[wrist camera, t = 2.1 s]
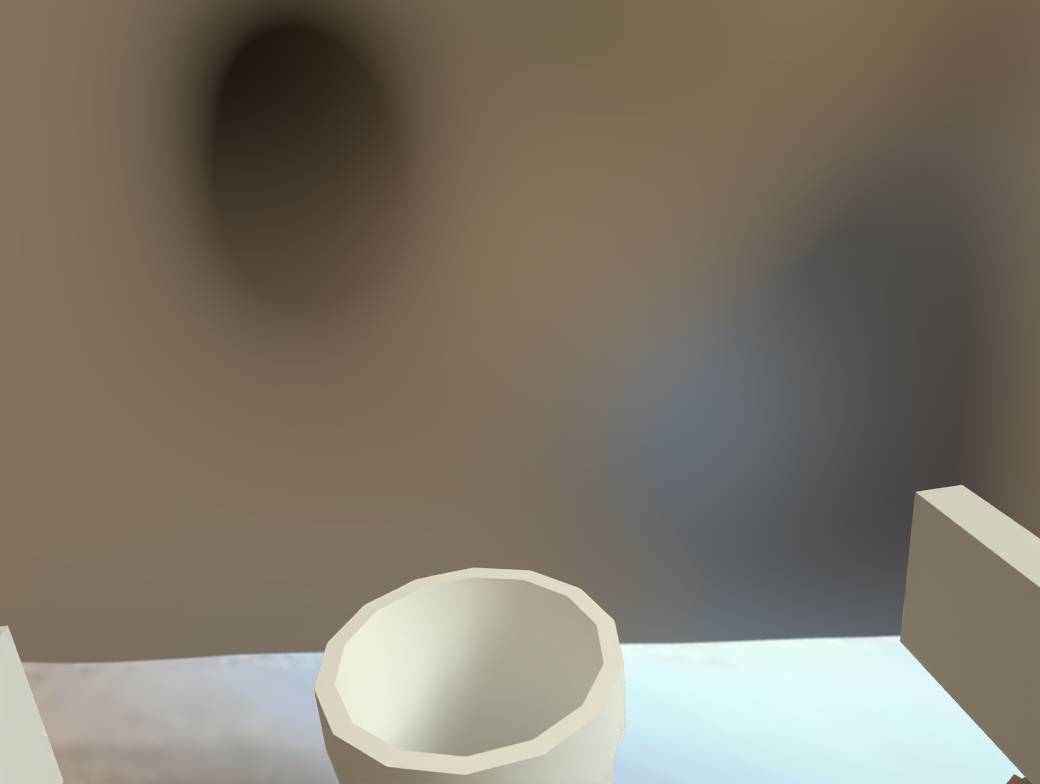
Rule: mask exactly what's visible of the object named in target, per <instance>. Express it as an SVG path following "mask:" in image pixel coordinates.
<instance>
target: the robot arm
mask: <svg viewBox="0 0 1040 784" xmlns="http://www.w3.org/2000/svg"><path fill="white" fill-rule="evenodd" d="M900 642H901V643H902V644H903V645H904V646H905V647H906V648H907V649H908V650H909V651H910V652H911V653H912V655H913V656H914V657H915V658H916V659H917V660H918V661H919V662H920V663H921V664H922V665H923V666H924V668H925V669H926V670H927V671H928V672H929V673H930V674H931V675H932V676H933V677H934V678H935V679H936V681H937V682H938V683H939V684H940V685H941V686H942V687H943V688H944V689H945V690H946V691H947V692H948V694H949V695H950V696H951V697H952V698H953V699H954V700H955V701H956V702H957V703H958V704H959V705H960V707H961V708H962V709H963V710H964V711H965V712H966V713H967V714H968V715H969V716H970V717H971V718H972V720H973V721H974V722H975V723H976V724H977V725H978V726H979V727H980V728H981V729H982V730H983V731H984V733H985V734H986V735H987V736H988V737H989V738H990V739H991V740H992V741H993V742H994V743H995V744H996V746H997V747H998V748H999V749H1000V750H1001V751H1002V752H1003V753H1004V754H1005V755H1006V756H1007V757H1008V759H1009V760H1010V761H1011V762H1012V763H1013V764H1014V765H1015V766H1016V767H1017V768H1018V769H1019V770H1020V772H1021V773H1022V774H1023V775H1024V776H1025V777H1026V778H1027V779H1028V780H1029V781H1030V782H1031V783H1032V784H1040V539H1039V538H1038V537H1036V536H1035V535H1033V534H1032V533H1031V532H1029V531H1028V530H1026V529H1025V528H1023V527H1022V526H1020V525H1019V524H1018V523H1016V522H1015V521H1013V520H1012V519H1010V518H1009V517H1008V516H1006V515H1005V514H1003V513H1002V512H1000V511H999V510H997V509H996V508H995V507H993V506H992V505H990V504H989V503H987V502H986V501H984V500H983V499H981V498H980V497H979V496H977V495H976V494H974V493H973V492H971V491H970V490H968V489H967V488H966V487H964V486H963V485H959V486H952V487H946V488H939V489H932V490H925V491H919V492H915V502H914V512H913V521H912V531H911V542H910V551H909V560H908V571H907V581H906V591H905V599H904V609H903V619H902V628H901V638H900ZM63 782H64V781H63V779H62V776H61V773H60V770H59V767H58V765H57V762H56V759H55V756H54V754H53V751H52V748H51V745H50V742H49V740H48V737H47V734H46V731H45V728H44V726H43V723H42V720H41V717H40V714H39V712H38V709H37V706H36V703H35V700H34V698H33V695H32V692H31V689H30V686H29V684H28V681H27V678H26V675H25V672H24V670H23V667H22V664H21V661H20V658H19V656H18V653H17V650H16V647H15V645H14V642H13V639H12V636H11V633H10V631H9V628H8V626H2V627H0V784H63Z"/></svg>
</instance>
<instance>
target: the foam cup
mask: <svg viewBox="0 0 1040 784" xmlns="http://www.w3.org/2000/svg"><path fill="white" fill-rule="evenodd" d="M314 691H315V696H316V701H317V706H318V711H319V716H320V721H321V726H322V731H323V736H324V741H325V746H326V750H327V753H328V755H329V758H330V760H331V763H332V765H333V768H334V770H335V773H336V775H337V778H338V780H339V783H340V784H612V779H613V772H614V764H615V757H616V749H617V746H618V744H619V741H620V739H621V737H622V734H623V732H624V730H625V727H626V711H625V679H624V662H623V658H622V653H621V648H620V644H619V639H618V635H617V630H616V626H615V621H614V620H613V619H612V618H611V617H610V616H609V615H607V613H606V612H604V611H603V610H602V609H601V608H600V607H599V606H598V605H597V604H596V603H595V602H594V601H593V600H592V599H591V598H590V597H589V596H588V595H586V593H584V592H583V591H582V590H581V589H580V588H577V587H574V586H572V585H569V584H566V583H563V582H561V581H557V580H555V579H552V578H550V577H547V576H544V575H541V574H539V573H535V572H533V571H527V570H508V569H487V568H470V569H465V570H460V571H455V572H450V573H446V574H441V575H436V576H431V577H426V578H421V579H416V580H414V581H412V582H410V583H408V584H406V585H404V586H402V587H400V588H398V589H396V590H394V591H392V592H390V593H388V594H386V595H384V596H382V597H380V598H378V599H376V600H374V601H372V602H370V603H368V604H366V605H364V606H363V607H362V608H361V609H360V610H359V611H358V612H357V613H356V614H355V615H354V616H353V617H352V618H351V619H350V620H349V621H348V622H347V623H346V624H345V626H343V627H342V629H341V630H340V631H339V632H338V633H337V634H336V635H335V636H334V637H333V638H332V639H331V640H330V641H329V642H328V643H327V646H326V649H325V653H324V656H323V660H322V663H321V666H320V670H319V673H318V677H317V680H316V683H315V687H314Z"/></svg>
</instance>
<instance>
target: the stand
mask: <svg viewBox="0 0 1040 784" xmlns="http://www.w3.org/2000/svg"><path fill="white" fill-rule="evenodd" d="M1007 784H1032V783H1031V782H1030V781H1029V780H1028V779H1027V778H1025V777H1024V778H1023V779H1022V778H1020V777H1018V776H1016V775H1015V774H1014V775H1013V776H1012V778H1011V779H1010V780H1009V781H1008V782H1007Z"/></svg>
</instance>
